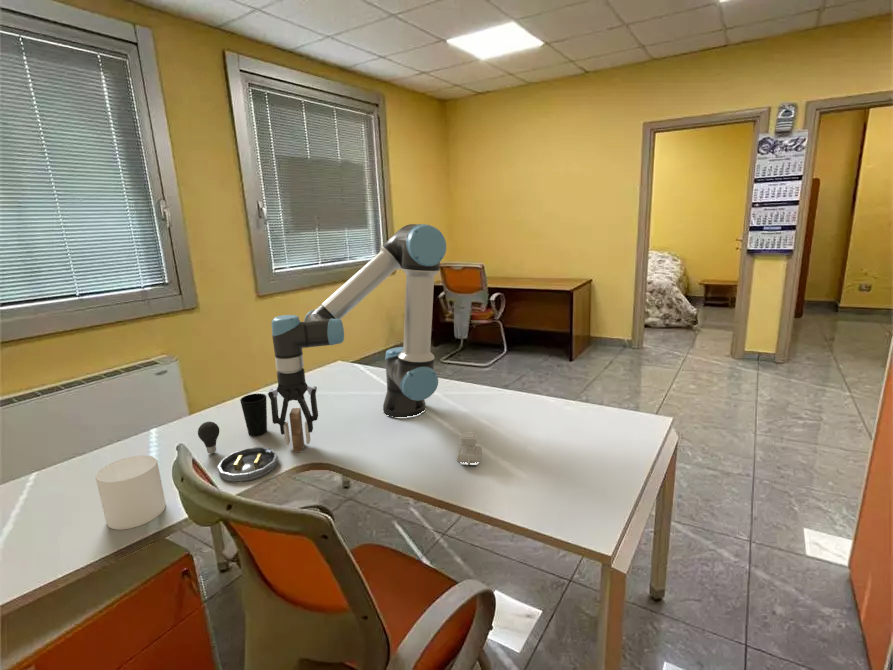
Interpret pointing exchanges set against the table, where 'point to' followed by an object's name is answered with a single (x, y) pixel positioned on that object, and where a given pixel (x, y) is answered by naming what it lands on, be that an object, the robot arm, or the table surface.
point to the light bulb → (209, 435)
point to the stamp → (469, 449)
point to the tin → (247, 464)
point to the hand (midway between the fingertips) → (298, 442)
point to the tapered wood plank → (296, 429)
